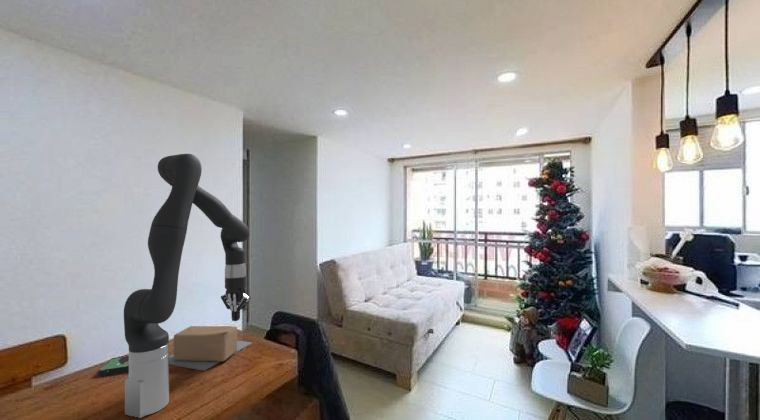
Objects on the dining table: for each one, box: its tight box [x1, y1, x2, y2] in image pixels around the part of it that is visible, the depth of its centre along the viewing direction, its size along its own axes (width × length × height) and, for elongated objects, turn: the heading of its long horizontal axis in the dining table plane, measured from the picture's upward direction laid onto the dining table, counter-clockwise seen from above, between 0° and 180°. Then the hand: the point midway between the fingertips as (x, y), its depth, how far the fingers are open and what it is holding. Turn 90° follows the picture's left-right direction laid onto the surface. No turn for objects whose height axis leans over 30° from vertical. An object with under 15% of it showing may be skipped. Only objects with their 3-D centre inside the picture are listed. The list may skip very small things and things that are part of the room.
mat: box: [169, 340, 253, 372], centre depth 125 cm, size 24×22×1 cm
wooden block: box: [173, 325, 238, 362], centre depth 120 cm, size 10×10×20 cm
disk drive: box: [97, 355, 129, 377], centre depth 114 cm, size 10×3×15 cm
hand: (235, 320), depth 121 cm, fingers closed
